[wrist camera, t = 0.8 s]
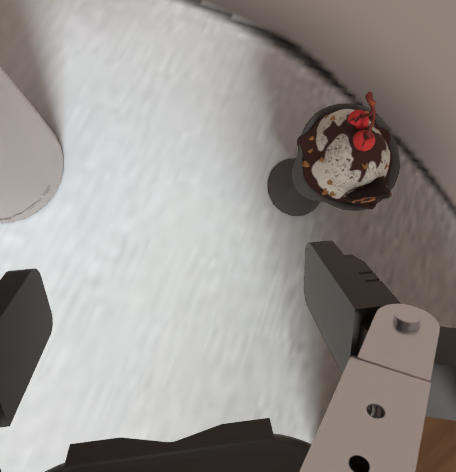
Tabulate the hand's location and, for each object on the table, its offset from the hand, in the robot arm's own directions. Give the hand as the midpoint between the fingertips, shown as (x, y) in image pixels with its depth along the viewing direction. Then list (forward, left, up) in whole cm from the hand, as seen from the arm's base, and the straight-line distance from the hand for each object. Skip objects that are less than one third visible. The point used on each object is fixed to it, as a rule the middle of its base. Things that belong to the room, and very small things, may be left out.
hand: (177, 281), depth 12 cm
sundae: (+1, +13, -20) cm, 24 cm away
